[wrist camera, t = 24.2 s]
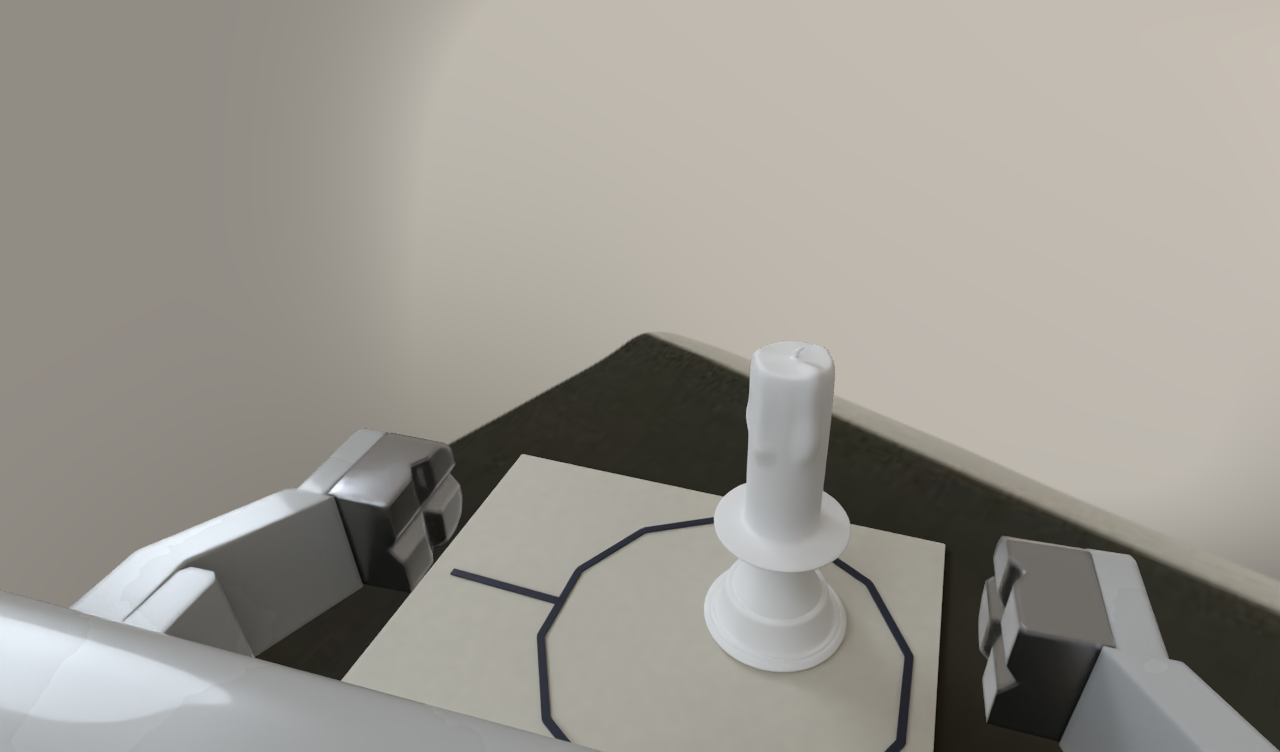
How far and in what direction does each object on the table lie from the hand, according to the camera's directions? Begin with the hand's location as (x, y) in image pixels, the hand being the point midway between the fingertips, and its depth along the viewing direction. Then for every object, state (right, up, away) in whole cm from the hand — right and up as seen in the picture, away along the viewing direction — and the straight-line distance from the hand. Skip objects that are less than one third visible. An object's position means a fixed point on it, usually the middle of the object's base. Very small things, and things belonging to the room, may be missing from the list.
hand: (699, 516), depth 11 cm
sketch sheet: (0, -8, +18) cm, 19 cm away
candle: (+4, -7, +18) cm, 20 cm away
